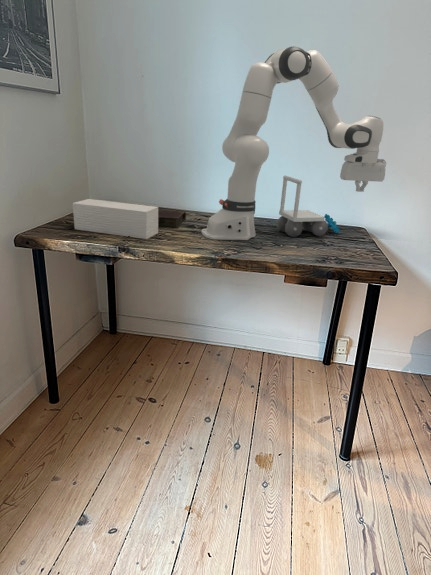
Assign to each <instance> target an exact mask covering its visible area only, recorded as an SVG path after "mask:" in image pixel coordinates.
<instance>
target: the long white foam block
mask: <svg viewBox="0 0 431 575" xmlns="http://www.w3.org/2000/svg"><path fill="white" fill-rule="evenodd" d="M158 209H159V206H156V205H155V206H154V205H144V204H136V203H126V202H119V201H111V200H110V201H108V200H101V199H93V198H92V199H91V198H87V199H83V200H79V201H75V202H73V203H72V212H73V213H72V215H73V222H74V223H73V224H74V225H73V227H74V230H77V231H84V232H85V231H86V232H92V233H93V232H94V233H99V234H108V235H116V236H122V237H128V236H130V237H129V238H137V239H143V240H147V239H149V238H151V237H153V236H155V235H156V234H159V227H158Z"/></svg>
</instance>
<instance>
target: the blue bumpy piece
mask: <svg viewBox="0 0 431 575" xmlns="http://www.w3.org/2000/svg"><path fill="white" fill-rule="evenodd" d="M323 217H325V219H324V221H326V222H327V224H328V229H327V230H329V229H331V230H332V231H333V232H334V233H335V234H339V233H340V228H339V225H337V222H336V221H335V220H334V219H333V217H331V216H330V215H329V214H328V213H326V214H324V216H323Z"/></svg>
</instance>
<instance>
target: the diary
mask: <svg viewBox="0 0 431 575" xmlns="http://www.w3.org/2000/svg"><path fill="white" fill-rule="evenodd" d="M186 219H187V211H186V210H185V211H184V210H168V209H167V210H165V209H159V208H158V228H165V229H166V228H167V229H177V230H178V229H179V228H180V227H181V226H182V225H183V223H182V222H184V221H186Z"/></svg>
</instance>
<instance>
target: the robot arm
mask: <svg viewBox="0 0 431 575" xmlns="http://www.w3.org/2000/svg"><path fill="white" fill-rule="evenodd" d="M296 80H299V81H300V82H301V83H302V84H303V86H304V88H305V90H306V92H307V94H308V95H309V97H310V98H311V100H312V101H313V104H314V106H315V109H316V112H317V113H318V115H319V117H320V119H321V121H322V123H323V125H324V127H325V129H326V133H327V134H326V135H327V140H328V143H329V144H330V146H331V147H333V148H335V149H348V150H354V149H356V152H353V153H350V154H346V155H345V156H344V158H343V160H344V162H343V163H342V165H341V169H340V172H339V174H340V175H339V177H340V179H341V180H343V181H354V184H355V192H357V193H358V192H361V193H363V192H365V188H366V187H367V185H369V182H383V181H384V180H385V177H386V167H387V162H386V160H385V159H384V158H381V159H380V158H379V152H380V144H381V142H382V138H383V132H384V120H383V119H382V118H380V117H378V116H373V115H366V116H364V117H363V118H362V119H360V120H358V121H356V122H355V121H354V122H352V123H346V122H343V121H342V120H341V119H340V117H339V115H338V113H337V110H336V109H335V106H334V103H333V102H334V101H333V100H334V98H336V96H337V94H338V92H339V91H338V90H339V87H340V86H339V82H338V79H337V77H336V75H335V73H334V71H333V69H332V68H331V66H330V64H329V63H328V62H327V60H326V59H325V58H324V56H323V55H322V54H321V53H320V52H319V51H318V50H316V49H310V50H308V51H305V50H304V49H303V48H301V47H299V46H289V47H286V48H281V49H279V50H277V51H275V52H273V53H271V54H270V55H269V56H268V57H267V58H266V60H265V61H264V62H261V61H259V62H255V63H253V64H252V65H251V66H250V68H249V70H248V73H247V75H246V78H245V81H244V85H243V86H242V87H243V88H242V92H241V97H240V101H239V105H238V110H237V113H236V117H235V120H234V122H233V125H232V127H231V128H230V131H229V133H228V135H227V137H225V139H224V140H223V142H222V144H221V145H222V146H221V147H222V148H221V150H222V153H223V155H224V156H225V157H226V159H228V160H229V161H231V162H232V163H235V164H234V167H233V171H232V173H231V175H230V177H229V178H228V180H227V182H228V183H227V196H226V197H227V198H226V199H225V200H223V199H222V198H221V199H219V201H218V203H219V205H220V206H222V208H221V209H219V210H218V211H217V212H216V213H214V214H213V215H212V216H210V217H209V219H208V221H207V225H206V228H202V229H201V235H203V237H205V238H207V239H210V240H223V241H224V240H225V241H226V240H227V241H248V240H250V239H251V238H254V237H256V235H257V234H256V230H255V214H256V199H255V198H256V191H257V190H256V189H257V182H258V177H259V173H260V171H261V168H262V166H263V164H265V162H267V160H268V158H269V155H270V147H269V145H268V142H267V141H265V140H264V139H263V138H262V137H260V136H258V134H259V131H260V129H261V128H262V126H263V125H265V123H266V121H267V119H268V114H269V109H270V105H271V101H272V98H273V91H274V88H275V86H276V85H277V84H282V83H285V84H286V83H290V82H293V81H296ZM361 182H362V185H360V184H361Z"/></svg>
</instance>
